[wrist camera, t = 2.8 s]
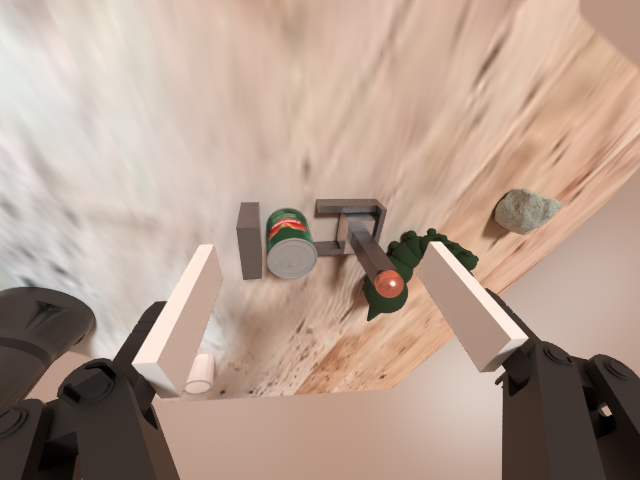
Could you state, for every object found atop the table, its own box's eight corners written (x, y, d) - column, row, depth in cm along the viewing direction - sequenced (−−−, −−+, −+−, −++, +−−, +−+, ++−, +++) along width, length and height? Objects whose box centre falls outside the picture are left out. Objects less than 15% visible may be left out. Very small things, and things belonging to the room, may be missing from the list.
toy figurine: (406, 209, 50) (340, 291, 57) (479, 254, 34) (375, 360, 41) (429, 228, 54) (366, 301, 61) (504, 275, 38) (407, 367, 45)
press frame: (365, 244, 51) (382, 270, 43) (246, 251, 45) (243, 282, 38) (375, 198, 45) (397, 220, 37) (240, 199, 39) (235, 224, 32)
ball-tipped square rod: (358, 238, 49) (404, 309, 33) (336, 239, 48) (373, 313, 32) (364, 208, 45) (420, 272, 29) (341, 208, 44) (385, 275, 28)
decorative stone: (484, 199, 51) (508, 239, 48) (544, 171, 45) (577, 214, 42) (485, 209, 61) (506, 242, 58) (535, 186, 55) (561, 222, 52)
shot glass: (204, 349, 59) (198, 377, 53) (222, 359, 63) (218, 386, 57) (183, 360, 59) (174, 389, 54) (202, 370, 63) (196, 397, 58)
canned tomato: (289, 199, 41) (297, 229, 32) (314, 227, 45) (327, 260, 36) (257, 224, 43) (255, 260, 34) (284, 249, 47) (289, 286, 38)
